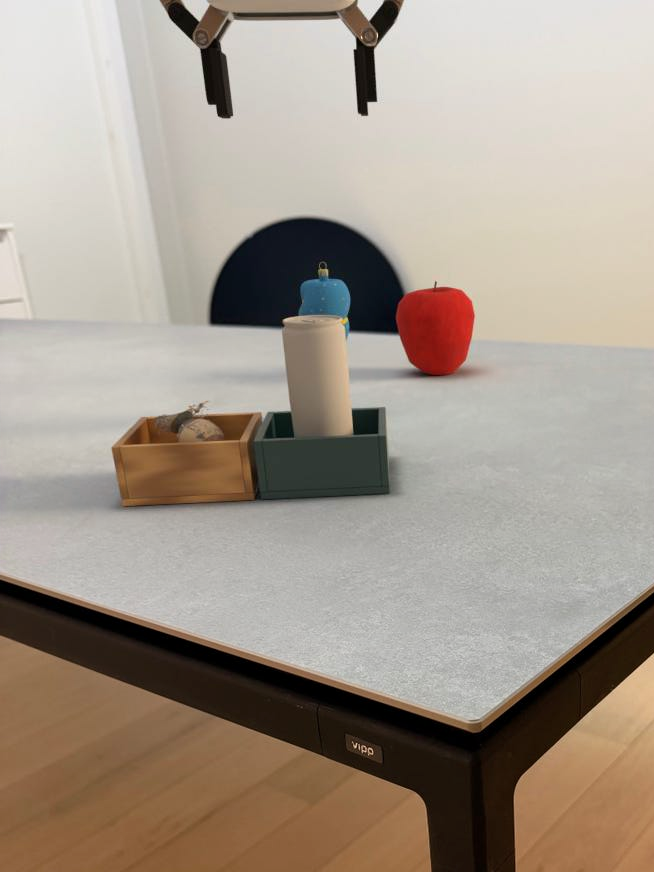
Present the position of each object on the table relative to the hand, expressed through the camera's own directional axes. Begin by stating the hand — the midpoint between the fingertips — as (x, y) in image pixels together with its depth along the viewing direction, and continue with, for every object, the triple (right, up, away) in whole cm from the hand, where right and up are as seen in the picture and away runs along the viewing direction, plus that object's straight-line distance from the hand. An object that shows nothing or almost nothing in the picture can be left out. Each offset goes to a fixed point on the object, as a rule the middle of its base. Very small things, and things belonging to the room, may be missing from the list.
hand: (294, 116), depth 67 cm
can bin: (+1, -24, +12) cm, 26 cm away
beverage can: (0, -23, +11) cm, 26 cm away
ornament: (-2, -14, +32) cm, 35 cm away
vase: (-11, -21, +11) cm, 26 cm away
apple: (+8, -4, +52) cm, 53 cm away
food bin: (-10, -24, +11) cm, 28 cm away
